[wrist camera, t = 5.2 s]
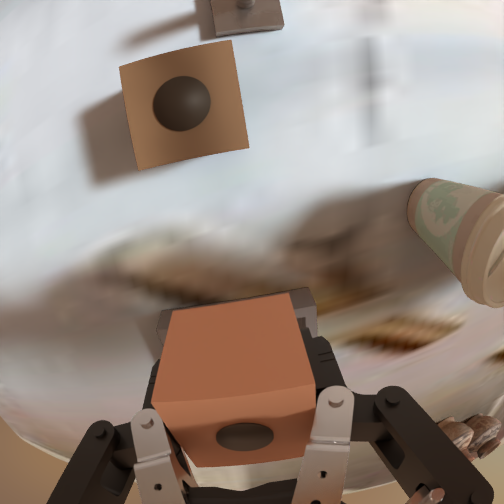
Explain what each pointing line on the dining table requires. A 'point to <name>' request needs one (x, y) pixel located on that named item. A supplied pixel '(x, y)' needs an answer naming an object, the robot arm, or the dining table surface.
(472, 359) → the dining table surface
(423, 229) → the coffee cup
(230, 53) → the block
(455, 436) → the pottery
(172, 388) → the block
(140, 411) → the robot arm
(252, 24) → the pin gauge stand
